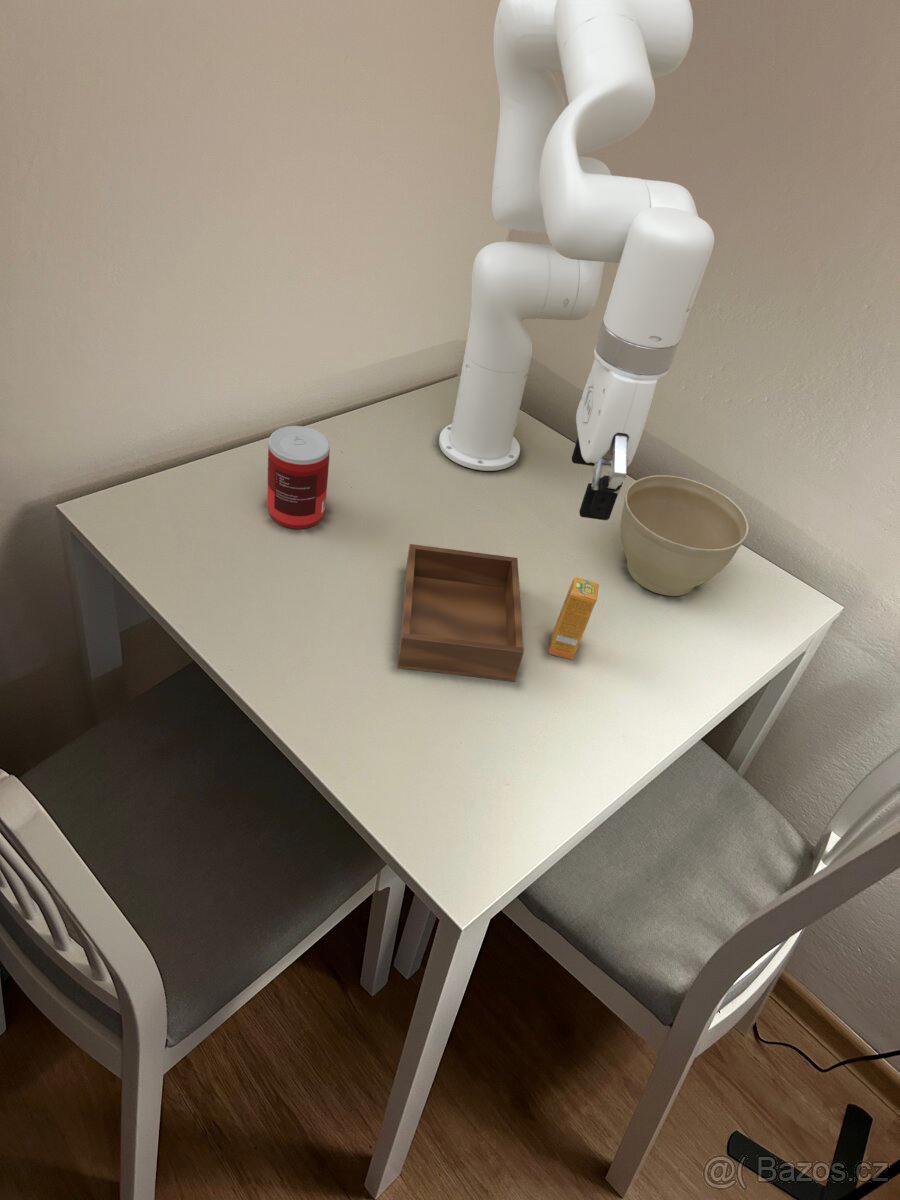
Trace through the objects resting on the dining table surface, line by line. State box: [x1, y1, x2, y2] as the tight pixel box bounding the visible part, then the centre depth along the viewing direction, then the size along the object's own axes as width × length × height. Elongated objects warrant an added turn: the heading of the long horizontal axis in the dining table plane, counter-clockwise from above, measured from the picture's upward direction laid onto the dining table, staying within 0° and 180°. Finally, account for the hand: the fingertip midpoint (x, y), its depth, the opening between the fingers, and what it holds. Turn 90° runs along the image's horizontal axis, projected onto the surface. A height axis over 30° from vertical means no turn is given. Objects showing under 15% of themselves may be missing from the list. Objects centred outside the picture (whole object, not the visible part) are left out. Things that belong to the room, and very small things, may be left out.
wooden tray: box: [396, 543, 524, 682], centre depth 107 cm, size 17×14×5 cm
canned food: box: [266, 425, 331, 530], centre depth 116 cm, size 8×8×11 cm
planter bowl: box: [619, 474, 750, 597], centre depth 119 cm, size 16×16×11 cm
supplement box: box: [548, 576, 600, 661], centre depth 105 cm, size 3×3×10 cm
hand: (589, 489), depth 98 cm, fingers open, 9 cm apart
